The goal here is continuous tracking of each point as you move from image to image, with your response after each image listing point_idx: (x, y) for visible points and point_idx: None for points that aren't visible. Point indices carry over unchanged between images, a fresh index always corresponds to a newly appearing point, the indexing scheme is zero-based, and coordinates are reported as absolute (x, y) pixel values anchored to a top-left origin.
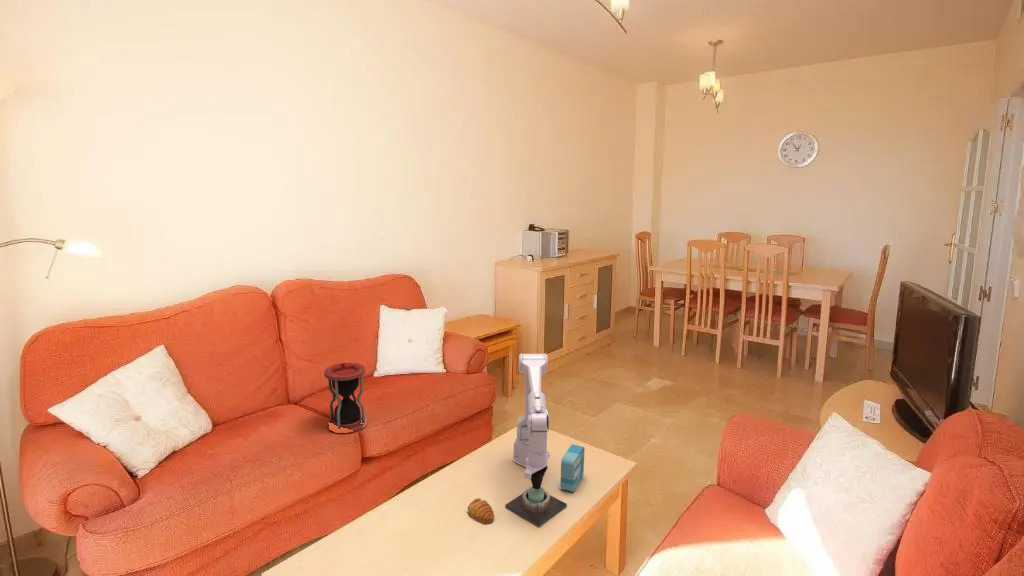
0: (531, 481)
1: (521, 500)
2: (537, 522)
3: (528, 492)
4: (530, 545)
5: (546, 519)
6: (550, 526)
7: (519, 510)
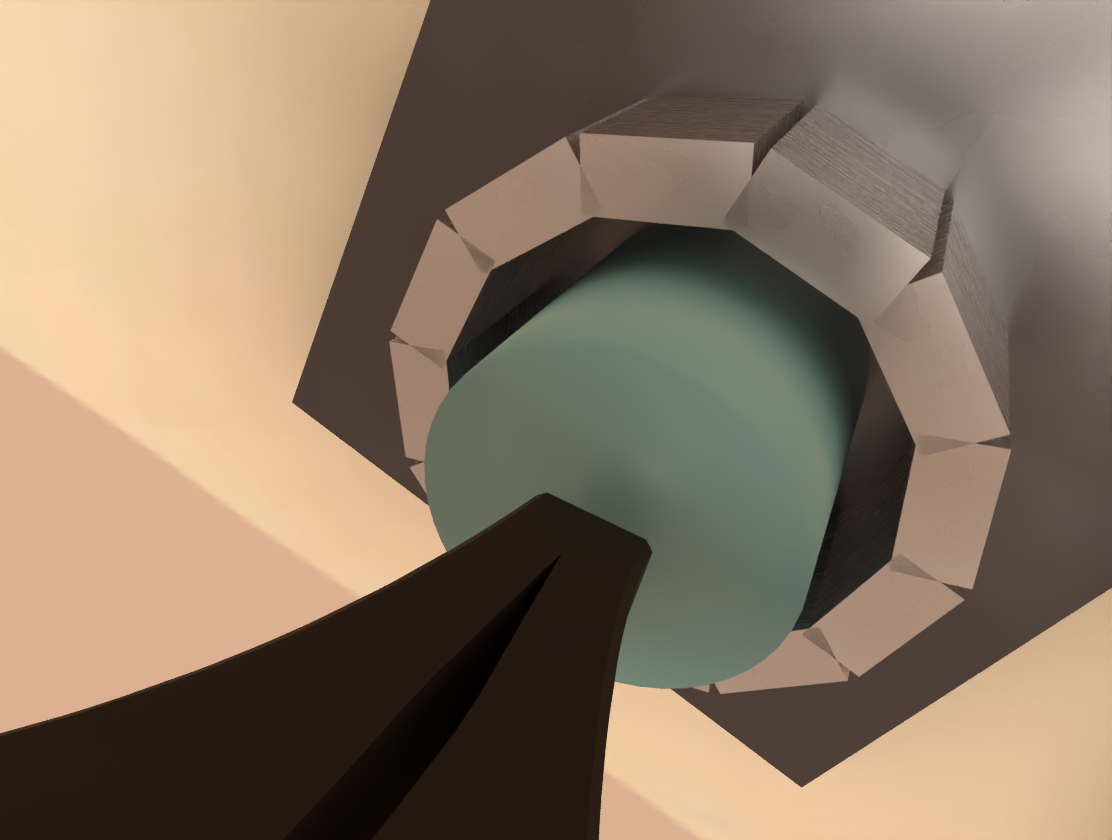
0: (385, 589)
1: (796, 46)
2: (317, 383)
3: (560, 321)
4: (64, 296)
5: (421, 492)
6: (385, 509)
7: (462, 71)
